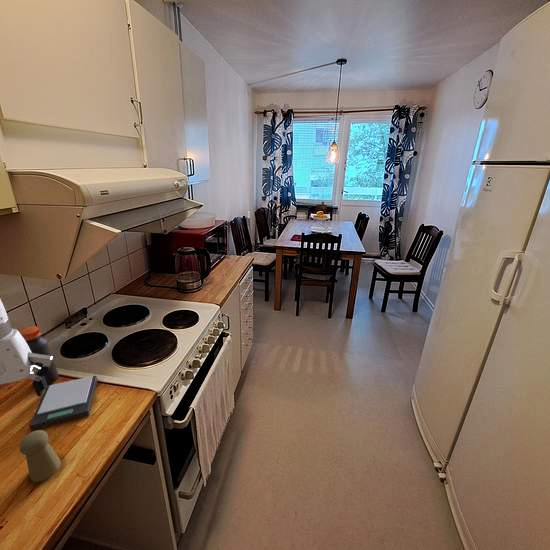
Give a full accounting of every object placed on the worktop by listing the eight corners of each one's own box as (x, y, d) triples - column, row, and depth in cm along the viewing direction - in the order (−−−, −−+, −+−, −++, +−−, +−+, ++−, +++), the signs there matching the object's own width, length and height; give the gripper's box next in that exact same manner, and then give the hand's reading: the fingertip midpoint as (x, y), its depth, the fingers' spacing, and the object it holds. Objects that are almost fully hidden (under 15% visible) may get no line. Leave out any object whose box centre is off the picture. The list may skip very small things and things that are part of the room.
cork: (23, 476, 68) (8, 444, 64) (49, 453, 73) (37, 422, 69) (40, 485, 66) (26, 453, 62) (66, 461, 71) (54, 430, 67)
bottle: (42, 390, 93) (23, 338, 86) (29, 384, 96) (9, 333, 88) (63, 376, 99) (47, 327, 92) (50, 371, 102) (33, 323, 94)
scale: (31, 431, 79) (28, 424, 78) (48, 391, 93) (46, 385, 92) (89, 416, 84) (87, 409, 83) (97, 379, 98) (96, 374, 97)
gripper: (-89, 353, 50) (-47, 424, 56) (33, 332, 56) (57, 398, 62) (-61, 330, 56) (-27, 397, 63) (45, 314, 62) (66, 376, 69)
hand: (15, 398), depth 62 cm, fingers open, 9 cm apart
